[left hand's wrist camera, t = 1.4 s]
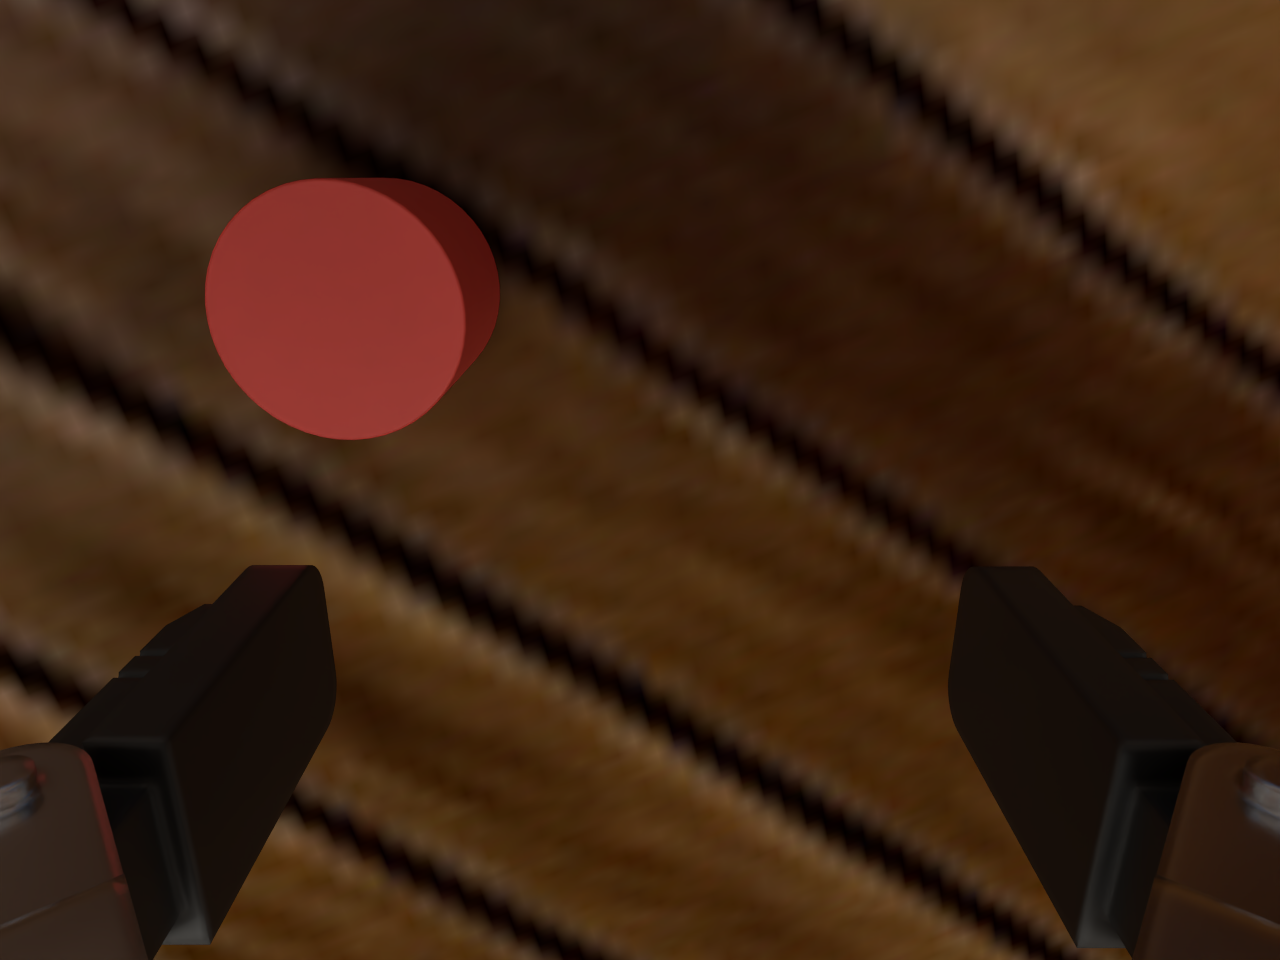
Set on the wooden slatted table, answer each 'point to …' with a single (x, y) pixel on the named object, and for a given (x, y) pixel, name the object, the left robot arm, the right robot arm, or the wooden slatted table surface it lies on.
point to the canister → (350, 302)
